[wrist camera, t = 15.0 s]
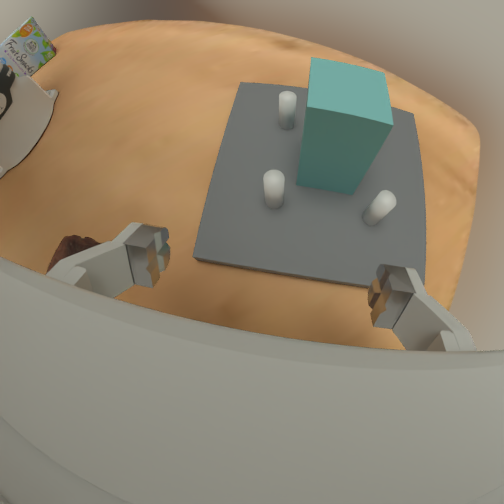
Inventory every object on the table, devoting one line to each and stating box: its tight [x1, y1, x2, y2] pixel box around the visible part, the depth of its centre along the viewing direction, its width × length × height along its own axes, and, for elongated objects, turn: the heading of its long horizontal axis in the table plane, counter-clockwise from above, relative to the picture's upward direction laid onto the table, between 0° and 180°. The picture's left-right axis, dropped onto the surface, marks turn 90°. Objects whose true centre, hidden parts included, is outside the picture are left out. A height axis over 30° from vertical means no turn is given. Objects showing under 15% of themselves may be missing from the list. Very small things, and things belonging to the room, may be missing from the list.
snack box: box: [0, 16, 56, 77], centre depth 30 cm, size 21×6×15 cm, turn 120°
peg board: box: [193, 82, 426, 288], centre depth 22 cm, size 20×20×6 cm
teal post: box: [296, 57, 394, 195], centre depth 18 cm, size 5×5×10 cm
